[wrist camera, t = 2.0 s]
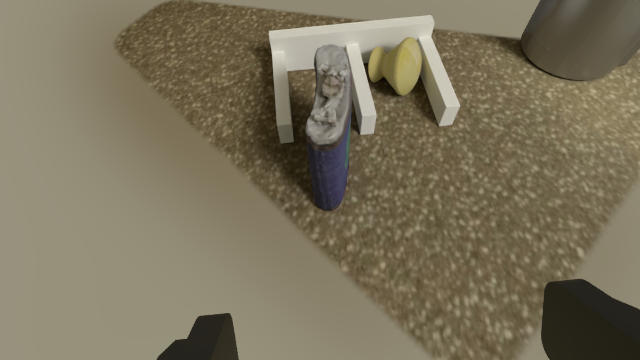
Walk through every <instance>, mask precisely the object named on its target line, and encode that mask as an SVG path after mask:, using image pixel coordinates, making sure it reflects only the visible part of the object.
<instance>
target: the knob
mask: <svg viewBox="0 0 640 360" xmlns="http://www.w3.org/2000/svg"><path fill="white" fill-rule="evenodd" d="M421 64H422V56H421V51H420V48H419V45H418V43H417V41H416V40H415V38H413V37H407V38H405V39H404V40H403V41H402V42H401V43H400V44H398V45H397V46H396V47H394V48H393V49H392V50H391V51H390V52H389V53H388V54H386V52H385V51H384V50H383V49H382V48H381V47H379V46H378V47H376V48H374V49H373V51H372V53H371V55H370V59H369V65H368V73H369V77H370V80H371V81H372V82H377V81H379V80H380V79H381V78H383V77H385V78H386V80H387V81H388V82H389V84H390V85H391V86H392V87H393V88H394V89H395V91H396V93H397V94H399V95H401V96H404V95H407V94H408V93H409V92H410V91H411V90H412V89H413V87H414V86H415V84H416V82H417V80H418V78H419V75H420V71H421Z"/></svg>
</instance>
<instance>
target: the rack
mask: <svg viewBox="0 0 640 360" xmlns="http://www.w3.org/2000/svg"><path fill="white" fill-rule="evenodd" d="M434 23H435V22H434V20H433V18H432V16H431V15H426V16H416V17H406V18H396V19H386V20H376V21H366V22H355V23H345V24H335V25H325V26H315V27H305V28H295V29H285V30H274V31H269V38H270V44H271V50H272V61H273V75H274V90H275V104H276V119H277V128H278V133H279V138H280V143H281V144H282V143H291V142H294V137H293V127H292V116H291V106H290V96H289V85H288V75H287V71H295V70H304V69H314V57H315V53H316V51H317V49H318V48H321V47H322V46H324V45H330V44H332V45H338V46H340V47H342V48H343V49H344V50H345V52H346V54H347V55H348V59H349V63H350V69H351V75H352V89H353V94H352V99H353V104H354V108H355V113H356V117H357V122H358V127H359V131H360V135H364V134H373V133H374V127H375V121H376V111H375V107H374V103H373V100H372V96H371V92H370V88H369V84H368V80H367V76H366V72H365V68H364V65H363V63H369V59H370V55H371V53H372V51H373V49H374V48H376V47H378V46H379V47H381V48H382V49H383V50H384V51H385V52H386V54H388V53H389V52H390V51H391V50H392V49H393V48H394V47H396V46H397V45H398V44H400V43H401V42H402V41H403V40H404V39H405V38H407V37H413V38H415V40H416V41H417V43H418V45H419V48H420V51H421V56H422V64H421V71H420V76H421V79H422V82H423V84H424V87H425V90H426V93H427V95H428V98H429V101H430V104H431V106H432V109H433V112H434V115H435V117H436V120H437V123H438V125H439V126H446V125H452V123H453V121H454V119H455V116H456V114H457V112H458V110H459V108H460V104H459V102H458V99H457V97H456V95H455V92H454V90H453V88H452V85H451V83H450V80H449V78H448V76H447V73H446V71H445V69H444V66H443V64H442V61H441V59H440V57H439V54H438V52H437V50H436V47H435V45H434V42H433V40H432V38H431V35H432V31H433V27H434Z"/></svg>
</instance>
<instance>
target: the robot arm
mask: <svg viewBox="0 0 640 360" xmlns="http://www.w3.org/2000/svg"><path fill="white" fill-rule="evenodd" d="M521 47H522V49H523V51H524V53H525V55H526V56H527V57H528V58H529V60H531V61H532V62H533V63H534V64H535V65H536V66H538V67H539V68H541V69H543V70H544V71H546V72H549V73H551V74H553V75H556V76H559V77H562V78H567V79H572V80H593V79H597V78H601V77H604V76H605V75H607V74H609V73H610V72H611V71H612V70H613V69H614V68H615V67H616V66H619V65H625V64H626V63H627V62H628V61H629V60H630V59H631V58H632V57H633V55H634V54H635V53H636V52H637V51H638V50H639V49H640V0H540V2H539V4H538V6H537V8H536V9H535V12H534V13H533V15H532V17H531V19H530V21H529V23H528V25H527V26H526V28H525V30H524V32H523V34H522V37H521ZM541 339H542V344H543V347H544V350H545V352H546V354H547V356H548V358H549V359H550V360H640V310H639V309H637V308H635V307H633V306H630V305H628V304H625V303H623V302H621V301H618V300H616V299H614V298H612V297H610V296H609V295H607V294H606V293H604V292H603V291H601V290H600V289H598V288H597V287H595V286H593V285H592V284H590V283H589V282H587V281H586V280H583V279H574V280H564V281H554V282H549V283H548V284H547V285H546V287H545V291H544V303H543V316H542V330H541ZM157 360H239V359H238V352H237V346H236V340H235V333H234V327H233V321H232V317H231V315H230V314H229V313H225V314H214V315H204V316H199V317H198V318H197V319H196V321H195V323H194V326H193V327H192V330H191V332H190V334H189V336H188V338H187V339H181V340H175V341H174V342H173V343H172V344H171V345H170V346H169V347H168V348H167V349H166V350H165V351H164V352H163V353H162V354H161V355H159V357H158V358H157Z"/></svg>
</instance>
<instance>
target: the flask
mask: <svg viewBox="0 0 640 360" xmlns="http://www.w3.org/2000/svg"><path fill="white" fill-rule="evenodd" d="M314 68H315V72H316V90H315V99H314V103H313V108H312V111H311V113H310V116H309V118H308V119H307V123H306V127H305V134H306V142H307V149H308V158H309V164H310V174H311V180H312V188H313V197H314V199H313V202H314V203H315V205H316V206H317V207H318V208H319V211H329V212H332V211H335V210H337V209H338V208H339V207H340V206H341V204H342V201H343V200H344V197H345V192H346V187H347V185H348V182H347V181H348V176H349V173H348V171H349V146H350V145H349V143H350V124H351V108H352V94H353V89H352V75H351V69H350V63H349V59H348V55H347V54H346V52H345V50H344V49H343V48H342V47H340V46H338V45H332V44H330V45H324V46H322V47H321V48H318V49H317V51H316V53H315V57H314Z"/></svg>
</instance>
